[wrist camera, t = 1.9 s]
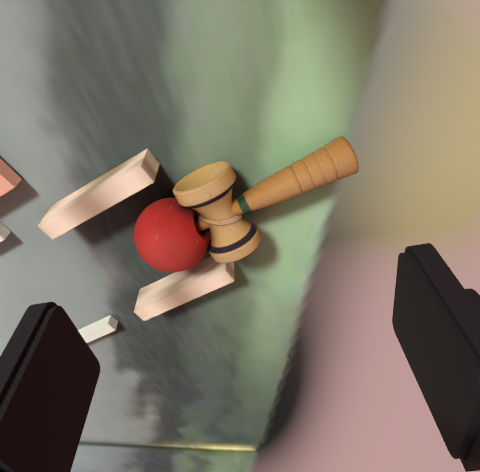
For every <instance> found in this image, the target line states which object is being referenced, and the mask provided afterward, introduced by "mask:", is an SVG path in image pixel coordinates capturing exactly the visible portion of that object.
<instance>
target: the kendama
mask: <svg viewBox="0 0 480 472" xmlns="http://www.w3.org/2000/svg"><path fill="white" fill-rule="evenodd" d="M357 172H358V162H357V158H356V155H355V153H354V151H353V149H352V147H351V145H350V144H349V142H348V141H347V140H346V139H345V138H344V137H343V136H341V137H339V138H337V139H335V140H334V141H332V142H330V143H328V144H327V145H325V146H324V147H323V148H320V149H318V150H316V151H315V152H313V153H312V154H309V155H308V156H306V157H304V158H302V160H298V161H297V162H295V163H293V164H291V166H287V167H285V168H284V169H282V170H280V171H278V172H276V173H275V174H273V175H271V176H269V177H268V178H266V179H264V180H263V181H261V182H260V183H258V184H257V185H255V186H254V187H252V188H250V189H249V190H247V191H246V192H244V193H243V194H241V195H240V196H238V197H237V198H235V199H234V200H232V188H233V185H234V182H235V179H236V174H235V172H234V171H233V169H232V167H231V165H230V163H229V162H225V161H222V162H216V163H212V164H209V165H206V166H204V167H201V168H199V169H197V170H195V171H193V172H191V173H190V174H188V175H187V176H185V177H184V178H182V179H181V180H180V181H179V182H178V183H177V184H176V185H175V187H174V189H173V193H174V195H175V197H176V198H164V199H160V200H158V201H156V202H154V203H152V204H150V205H149V206H148V207H146V208H145V209H144V211H143V212H142V213H141V214H140V216H139V218H138V219H137V222H136V224H135V229H134V241H135V245H136V248H137V250H138V252H139V254H140V256H141V257H142V258H143V260H144V261H145V262H146V263H147V264H148V265H150V266H151V267H153V268H155V269H157V270H160V271H164V272H181V271H185V270H187V269H189V268H191V267H193V266H194V265H196V264H197V263H198V262H199V261H200V260H201V259H202V258H203V257H204V255H205V253H206V251H209V253H210V255H211V256H212V257H213V259H214V260H215V261H217V262H219V263H229V262H234V261H237V260H240V259H242V258H244V257H246V256H247V255H249V254H250V253H252V252H253V251H254V250H255V249H256V248H257V247H258V245H259V244H260V242H261V235H260V232H259V229H258V227H257V226H256V225H255V224H253V223H250V222H247V221H245V220H244V219H242V214H244V213H248V212H251V211H254V210H258V209H261V208H264V207H267V206H270V205H274V204H277V203H279V202H282V201H285V200H288V199H290V198H293V197H295V196H298V195H300V194H301V193H305V192H308V191H310V190H312V189H314V188H318V187H321V186H323V185H325V184H328V183H331V182H333V181H335V180H337V179H341V178H344V177H347V176H350V175H353V174H355V173H357Z"/></svg>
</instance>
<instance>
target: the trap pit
mask: <svg viewBox="0 0 480 472" xmlns="http://www.w3.org/2000/svg"><path fill="white" fill-rule="evenodd" d="M22 179H23V177H22V176H21V175H20V174H18V173H17V172H16V171H15V170H14V169H13V168H12V167H11V166H10V165H9V164H8V163H7V162H6V161H5V160H4V159H3V158H2V157H1V156H0V196H2V195H4V194H5V193H7V192H8V191H10V190H11V189H13V188H15V187H16V185H17V184H18V183H19V182H20V181H21V180H22Z"/></svg>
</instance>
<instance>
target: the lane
mask: <svg viewBox="0 0 480 472" xmlns="http://www.w3.org/2000/svg"><path fill="white" fill-rule="evenodd" d="M159 165H160V163H159V162H158V161H157V160H156V158H155V157H154V156H153V154H152V153H151V152H150V150H149V149H148V148H147V149H146V150H144V151H142V152H141V153H139V154H137V155H136V156H134V157H132V158H131V159H129V160H127V161H126V162H124V163H122V164H121V165H119V166H117V167H116V168H114V169H112V170H111V171H109V172H107V173H105V174H104V175H102V176H100V177H99V178H97V179H95V180H94V181H92V182H90V183H89V184H87V185H85V186H84V187H82V188H80V189H79V190H77V191H75V192H74V193H72V194H70V195H69V196H67V197H65V198H64V199H62V200H60V201H59V202H57V203H55V204H54V205H52V206H51V208H50V209H49V211H48V212H47V214H46V215H45V216H44V218H43V219H42V221H41V222H40V224H39V225H38V227H39V228H40V229H41V230H43V231H44V232H45V233H46V234H47V235H48V236H49V237H50V238H52V239H54V238H56V237H58V236H60V235H61V234H63V233H65V232H67V231H69V230H70V229H72V228H74V227H76V226H77V225H79V224H81V223H83V222H85V221H86V220H88V219H90V218H92V217H93V216H95V215H97V214H99V213H101V212H102V211H104V210H106V209H108V208H109V207H111V206H113V205H115V204H117V203H118V202H120V201H122V200H124V199H125V198H127V197H129V196H131V195H133V194H134V193H136V192H138V191H140V190H141V189H143V188H145V187H147V186H149V185H150V184H152V183H154V181H155V178H156V174H157V171H158V168H159ZM232 282H234V262H229V263H219V262H217V261H215V260H214V259H213V257H212V256H209V257H207V258H205V259H203V260H201V261H199V262H198V263H197V264H196V265H194V266H193V267H191V268H189V269H187V270H185V271H181V272H175V273H173V274H171V275H169V276H167V277H164V278H162V279H160V280H158V281H156V282H154V283H152V284H150V285H148V286H145V287H143V288H141V289H140V290H139V294H138V298H137V302H136V306H135V310H134V312H135V313H136V314H137V315H138V316H139V317H140V318H141V319H142V320H144V321H146V320H148V319H150V318H152V317H155V316H157V315H159V314H161V313H164V312H166V311H168V310H170V309H173V308H175V307H177V306H180V305H182V304H184V303H186V302H189V301H191V300H193V299H195V298H198V297H200V296H202V295H205V294H207V293H209V292H211V291H214V290H216V289H218V288H220V287H223V286H225V285H227V284H229V283H232Z"/></svg>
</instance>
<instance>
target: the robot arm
mask: <svg viewBox="0 0 480 472" xmlns="http://www.w3.org/2000/svg"><path fill="white" fill-rule="evenodd" d="M392 322H393V327H394V331H395V334H396V336H397V338H398V340H399V343H400V345H401V347H402V349H403V351H404V353H405V356H406V358H407V360H408V362H409V365H410V367H411V369H412V371H413V373H414V376H415V378H416V380H417V382H418V384H419V387H420V389H421V391H422V393H423V395H424V398H425V400H426V402H427V404H428V407H429V409H430V411H431V413H432V415H433V417H434V420H435V422H436V424H437V427H438V429H439V431H440V433H441V435H442V438H443V440H444V442H445V444H446V446H447V449H448V451H449V452H450V454H451V456H452V457H453V458H454V459H458V458H460V460H461V462H462V464H463V466H464V468H465V471H466V472H467V471H476V470H480V295H479V294H478V293H477V292H476V291H474V290H473V289H464V288H463V287H462V285H461V284H460V282H459V281H458V279H457V278H456V277H455V275H454V274H453V273H452V271H451V270H450V268H449V267H448V266H447V264H446V263H445V262H444V260H443V259H442V258H441V256H440V255H439V253H438V252H437V250H436V249H435V248H434V247H433V245H432V244H430V243H427V244H421V245H414V246H408V247H406V249H405V253H400V254H399V257H398V266H397V277H396V287H395V298H394V308H393V318H392ZM99 374H100V364H99V361H98V360H97V358H96V357H95V355H94V354H93V352H92V351H91V349H90V348H89V346H88V345H87V343H86V342H85V340H84V339H83V337H82V336H81V334H80V333H79V331H78V330H77V328H76V327H75V325H74V324H73V322H72V321H71V319H70V318H69V316H68V315H67V313H66V312H65V310H64V309H63V308H62V307H61V306H57V305H56V304H55V303H54V302H47V303H41V304H34V305H31V306H29V307H28V309H27V310H26V312H25V314H24V315H23V317H22V319H21V321H20V322H19V324H18V326H17V328H16V330H15V331H14V333H13V335H12V337H11V339H10V340H9V342H8V344H7V346H6V348H5V349H4V351H3V353H2V355H1V356H0V472H70V471H71V468H72V464H73V461H74V458H75V454H76V451H77V447H78V444H79V441H80V437H81V434H82V431H83V427H84V424H85V421H86V417H87V414H88V411H89V407H90V404H91V401H92V397H93V394H94V391H95V387H96V384H97V381H98V377H99Z"/></svg>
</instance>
